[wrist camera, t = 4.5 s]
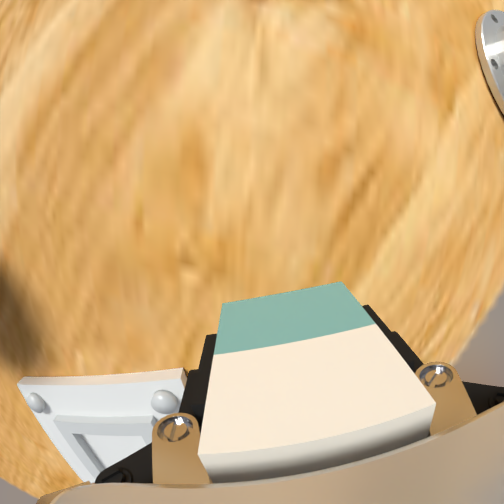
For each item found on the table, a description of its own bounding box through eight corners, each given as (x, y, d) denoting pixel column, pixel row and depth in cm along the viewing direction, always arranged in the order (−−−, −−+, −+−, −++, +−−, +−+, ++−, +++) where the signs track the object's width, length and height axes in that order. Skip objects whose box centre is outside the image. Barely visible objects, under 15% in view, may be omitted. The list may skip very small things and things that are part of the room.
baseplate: (182, 367, 18) (178, 386, 16) (232, 487, 21) (232, 504, 19) (23, 376, 18) (11, 389, 16) (96, 485, 21) (91, 499, 19)
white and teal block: (341, 281, 11) (436, 403, 4) (346, 375, 12) (402, 503, 6) (222, 303, 11) (197, 454, 5) (245, 394, 13) (246, 536, 6)
